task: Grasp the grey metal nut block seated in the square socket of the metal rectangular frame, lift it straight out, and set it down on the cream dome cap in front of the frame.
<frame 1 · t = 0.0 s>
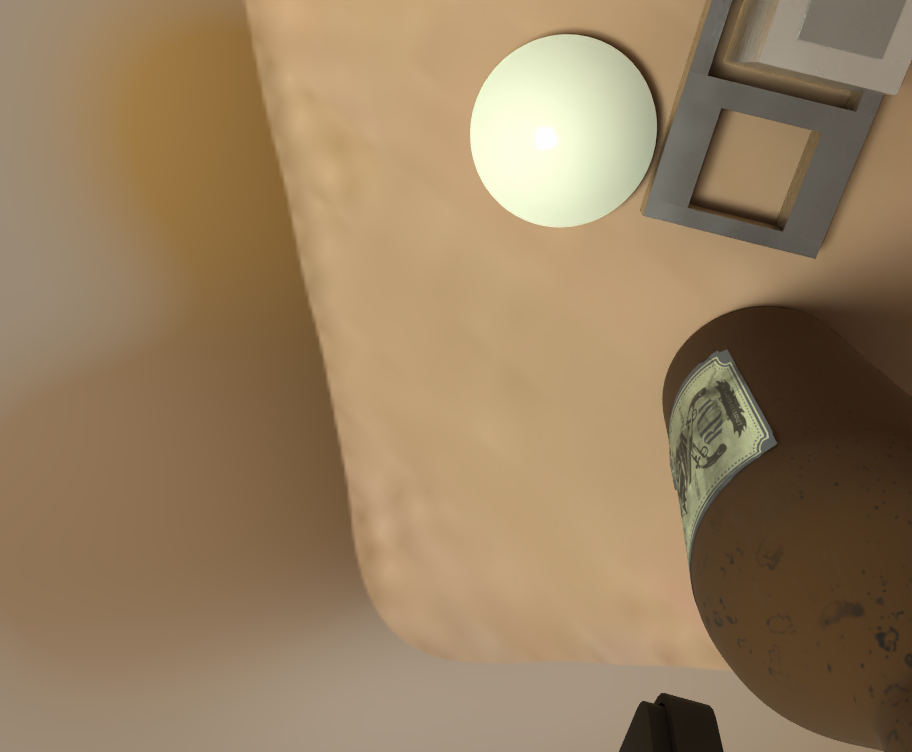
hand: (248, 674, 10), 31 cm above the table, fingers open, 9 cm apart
cream dome cap: (562, 133, 36), on the table
metal rectangular frame: (778, 75, 34), on the table
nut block: (800, 14, 33), resting in metal rectangular frame
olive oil: (754, 390, 40), on the table
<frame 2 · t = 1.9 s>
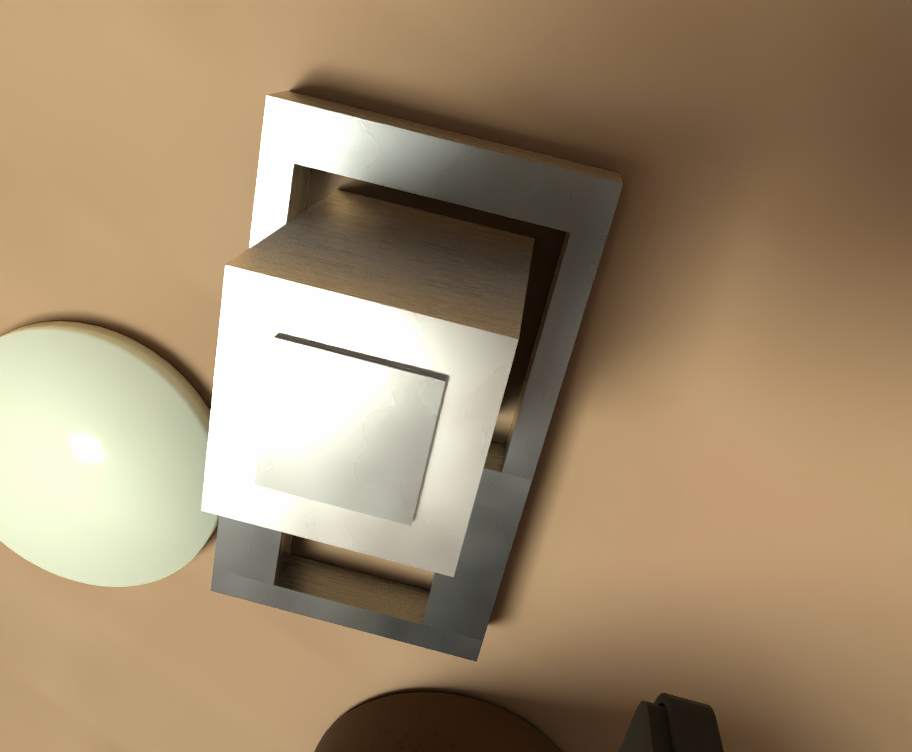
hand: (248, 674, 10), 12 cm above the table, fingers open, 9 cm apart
cream dome cap: (93, 454, 23), on the table
metal rectangular frame: (397, 393, 21), on the table
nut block: (415, 307, 20), resting in metal rectangular frame
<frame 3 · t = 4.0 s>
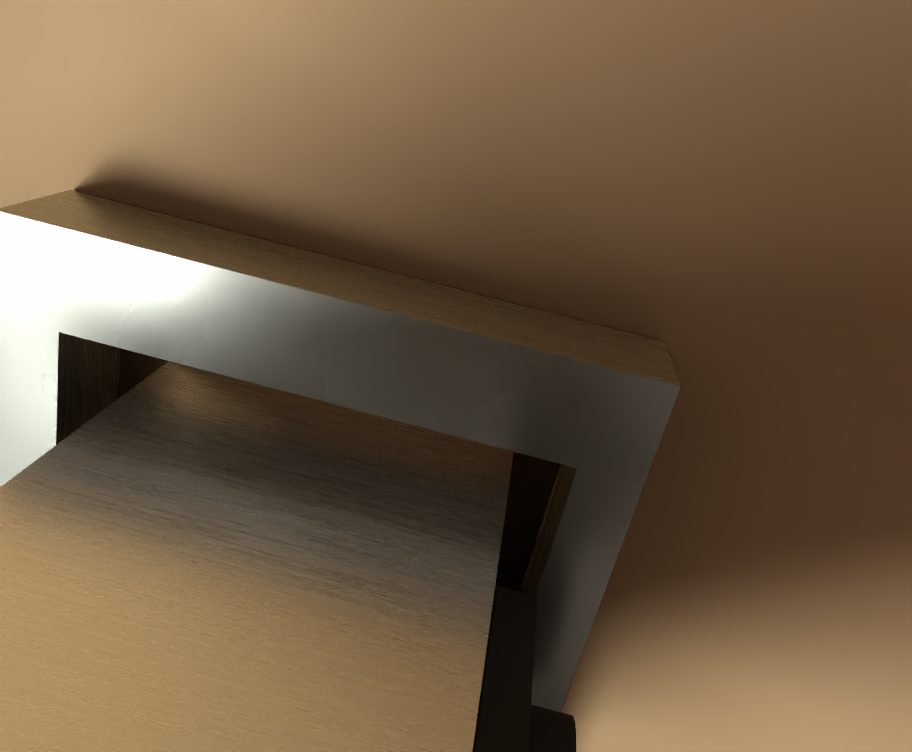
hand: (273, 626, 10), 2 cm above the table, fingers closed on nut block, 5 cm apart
metal rectangular frame: (290, 669, 13), on the table
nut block: (314, 549, 12), resting in metal rectangular frame, touching gripper
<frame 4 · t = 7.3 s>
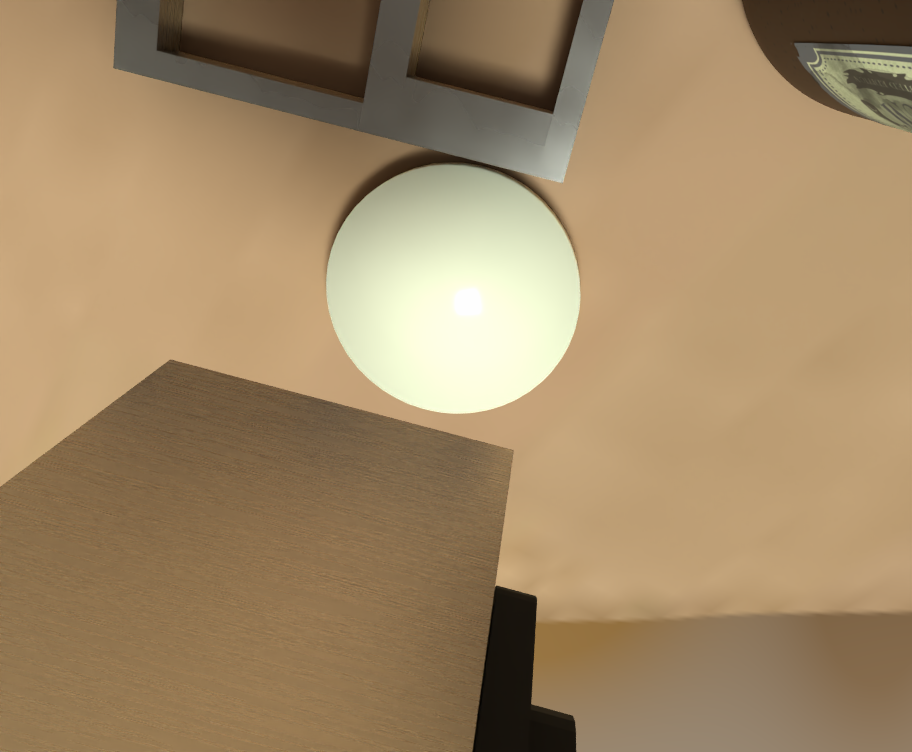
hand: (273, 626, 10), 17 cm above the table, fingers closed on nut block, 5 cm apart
cream dome cap: (454, 290, 27), on the table
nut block: (313, 549, 12), point 16 cm above the table, touching gripper
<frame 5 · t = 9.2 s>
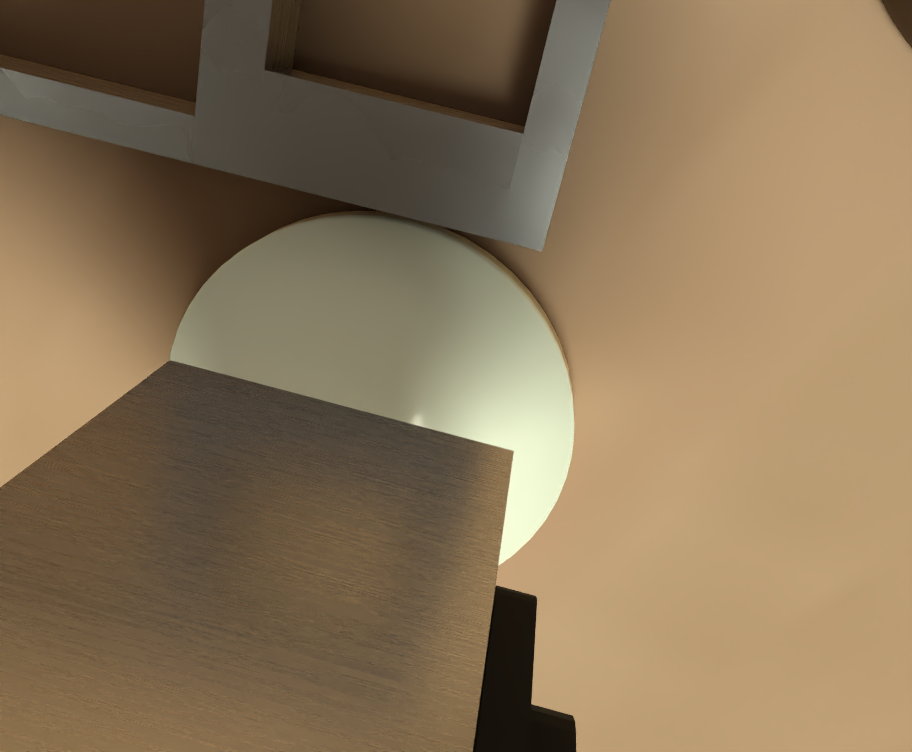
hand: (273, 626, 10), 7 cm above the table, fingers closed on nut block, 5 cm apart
cream dome cap: (373, 409, 17), on the table
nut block: (313, 549, 12), point 5 cm above the table, touching gripper
when the fingers open (3 cm above the table, at t = 10.7 s): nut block stays where it is, resting on cream dome cap.
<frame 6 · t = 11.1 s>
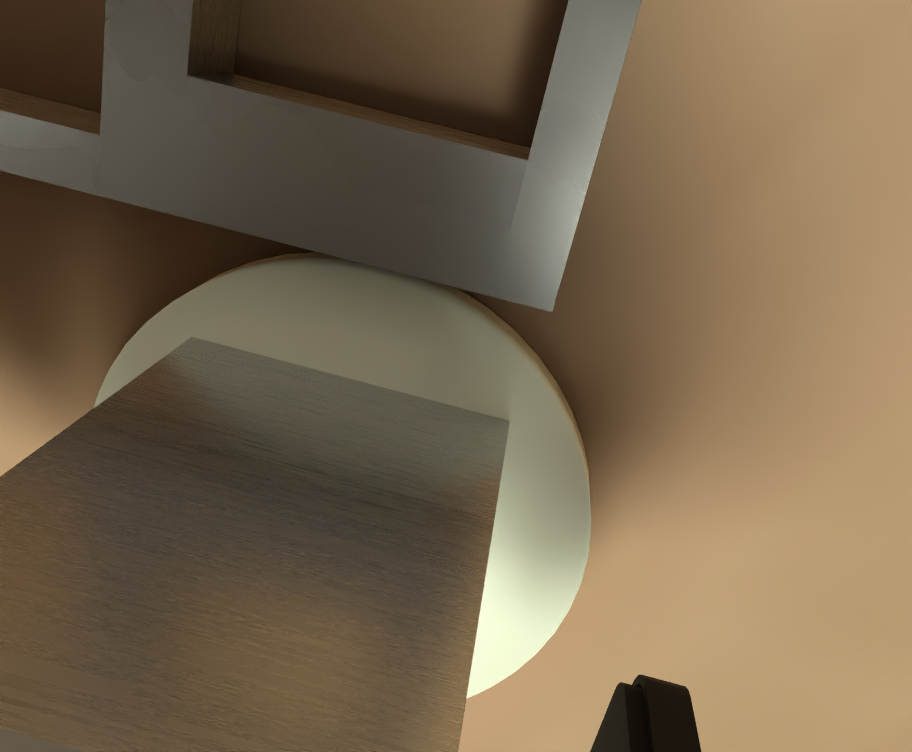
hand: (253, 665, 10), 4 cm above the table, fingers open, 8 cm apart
cream dome cap: (343, 492, 14), on the table
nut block: (323, 514, 13), point 1 cm above the table, touching cream dome cap
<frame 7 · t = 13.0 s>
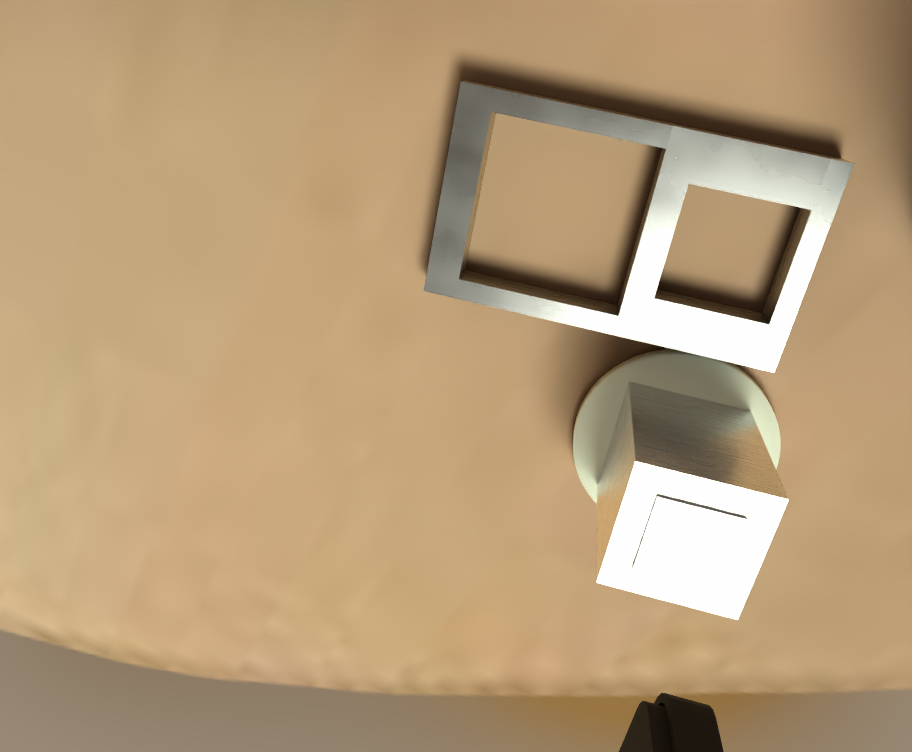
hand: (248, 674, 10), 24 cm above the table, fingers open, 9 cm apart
cream dome cap: (672, 440, 34), on the table
metal rectangular frame: (621, 224, 31), on the table
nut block: (671, 448, 33), point 1 cm above the table, touching cream dome cap
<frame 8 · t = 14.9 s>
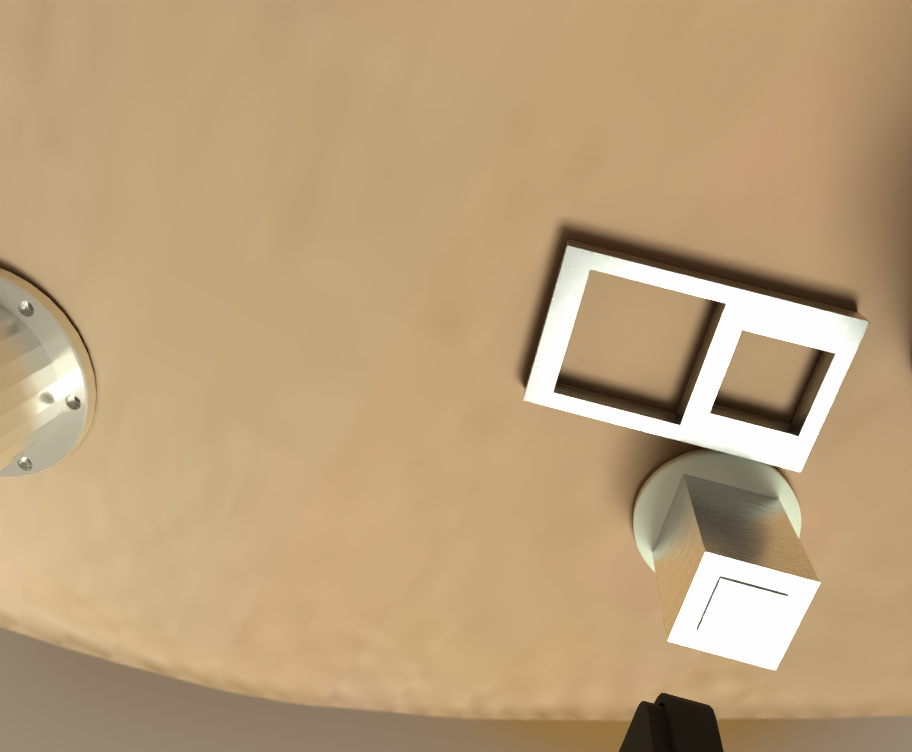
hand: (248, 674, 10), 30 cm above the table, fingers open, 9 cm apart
cream dome cap: (713, 518, 42), on the table
metal rectangular frame: (683, 352, 39), on the table
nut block: (713, 526, 41), point 1 cm above the table, touching cream dome cap
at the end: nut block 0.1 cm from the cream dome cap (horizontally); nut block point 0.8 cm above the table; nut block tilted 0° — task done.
